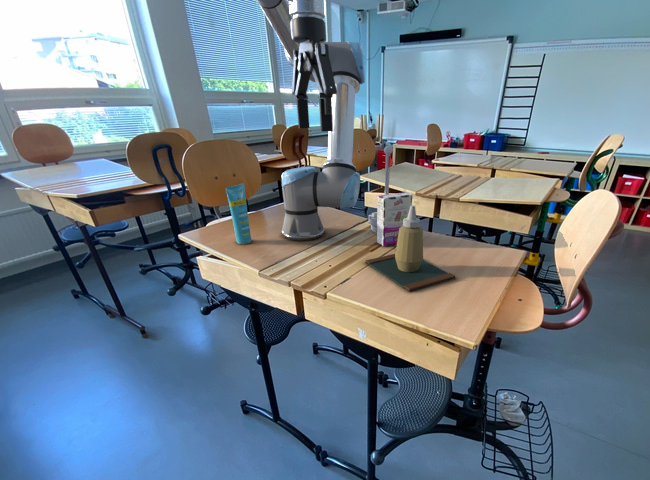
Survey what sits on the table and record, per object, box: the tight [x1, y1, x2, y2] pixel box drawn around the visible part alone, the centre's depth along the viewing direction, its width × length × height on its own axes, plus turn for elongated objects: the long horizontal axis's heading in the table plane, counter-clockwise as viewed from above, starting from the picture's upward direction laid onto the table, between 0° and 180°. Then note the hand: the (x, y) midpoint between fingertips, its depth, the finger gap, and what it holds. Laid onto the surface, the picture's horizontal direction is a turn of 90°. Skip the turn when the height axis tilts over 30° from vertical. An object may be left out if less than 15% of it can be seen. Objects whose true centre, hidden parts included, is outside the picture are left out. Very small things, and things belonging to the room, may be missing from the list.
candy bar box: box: [376, 192, 413, 248], centre depth 115 cm, size 11×5×16 cm, turn 118°
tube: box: [225, 182, 252, 245], centre depth 113 cm, size 7×5×19 cm, turn 157°
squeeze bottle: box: [394, 205, 424, 272], centre depth 93 cm, size 8×8×18 cm
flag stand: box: [368, 145, 394, 234], centre depth 125 cm, size 13×13×30 cm
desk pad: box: [364, 253, 456, 293], centre depth 98 cm, size 22×16×1 cm
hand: (314, 129), depth 83 cm, fingers open, 13 cm apart
